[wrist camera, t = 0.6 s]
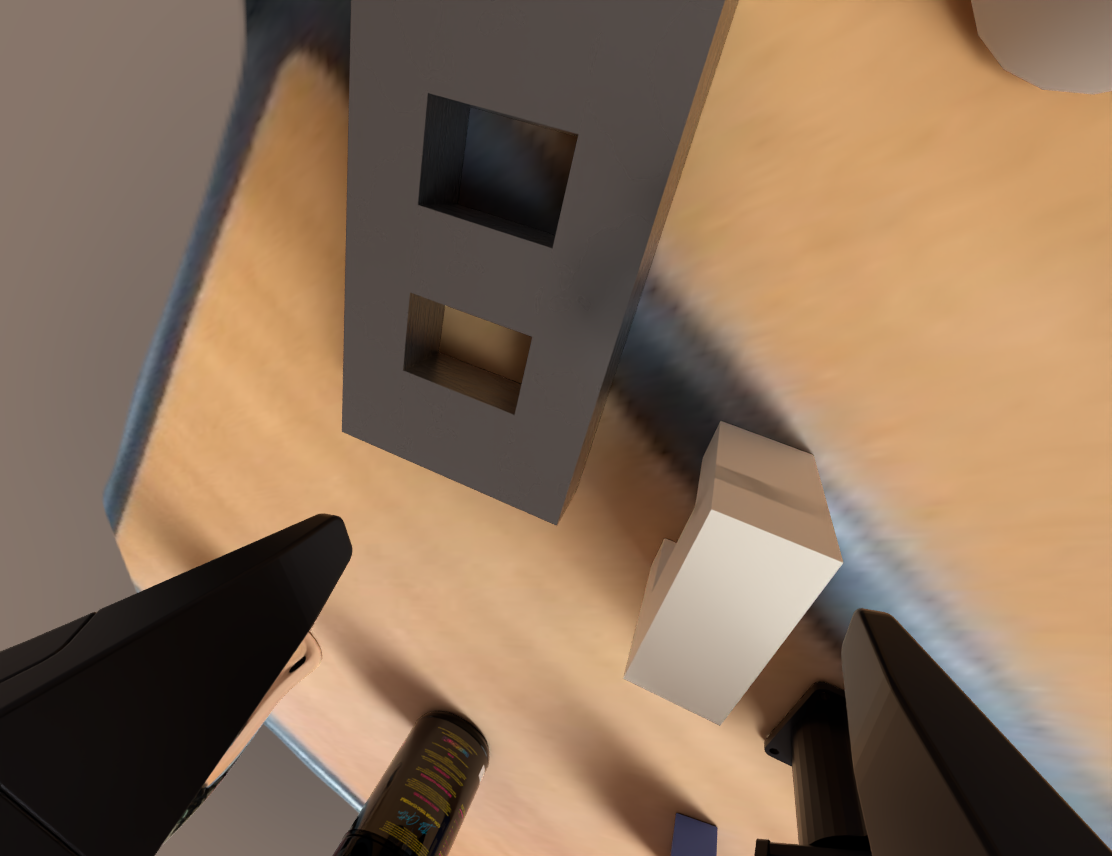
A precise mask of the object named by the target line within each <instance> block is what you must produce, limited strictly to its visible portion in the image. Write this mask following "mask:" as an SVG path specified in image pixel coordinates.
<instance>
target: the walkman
mask: <svg viewBox="0 0 1112 856" xmlns="http://www.w3.org/2000/svg"><path fill="white" fill-rule="evenodd" d="M716 852H717V827H715V826H712V825H710V824H707V823H704V822H701V821H698V820H695V819H692V818H690V817H687V816H684V815H681V814H678V813H676V818H675V826H674V834H673V840H672V849H671V856H716Z"/></svg>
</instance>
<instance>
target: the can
mask: <svg viewBox="0 0 1112 856" xmlns="http://www.w3.org/2000/svg"><path fill="white" fill-rule="evenodd" d="M971 3H972V8H973V13H974V18H975V22H976V27H977V32H978V36H979V37H980V38H981V40H982V41H983V42H984V44H985V45H986V46H987V48H988V49H989V50H990V52H991V53H992V54H993V56H994V57H995V59H996V60H997V61H998V63H999V64H1000V65H1001V67H1002V68H1003V69H1004V70H1006V71H1008V72H1010V73H1012V74H1014V75H1015V76H1017V77H1019V78H1021V79H1023V80H1025V81H1027V82H1029V83H1031V84H1033V85H1035V86H1037V87H1039V88H1041V89H1043V90H1052V91H1063V92H1074V93H1084V94H1098V93H1103V92H1108V91H1112V0H971Z"/></svg>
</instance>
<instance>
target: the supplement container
mask: <svg viewBox="0 0 1112 856" xmlns="http://www.w3.org/2000/svg"><path fill="white" fill-rule="evenodd" d="M488 765H489V750H488V746H487V743H486V741H485V739H484V738H483V736H482V735H481V734H480V733H479V731H478V730H477V729H476V728H475V727H473V726H472V725H471V724H470V723H468V722H467V721H465V720H464V719H462V718H460V717H458V716H456V715H454V714H451V713H448V712H444V711H432V712H429V713H426V714H424V715H423V716H422V717H420V718H419V719H418V720H417V722H416V723H415V725H414V726H413V728H412V730H411V731H410V733H409V734H408V736H407V738H406V739H405V741H404V742H403V744H402V746H401V747H400V749H399V750H398V752H397V754H396V755H395V757H394V758H393V760H392V762H391V763H390V765H389V766H388V768H387V770H386V771H385V773H384V774H383V776H382V778H381V779H380V781H379V783H378V784H377V786H376V787H375V789H374V791H373V792H372V794H371V795H370V797H369V799H368V800H367V802H366V803H365V805H364V807H363V808H362V810H361V811H360V813H359V815H358V816H357V818H356V819H355V821H354V823H353V824H352V826H351V827H350V829H349V831H348V832H347V833H346V834H345V835H344V837H343V839H342V841H341V843H340V844H339V846H338V848H337V849H336V851H335V852H334V854H333V855H332V856H448V854H449V852H450V850H451V848H452V845H453V843H454V841H455V839H456V837H457V834H458V832H459V830H460V828H461V825H462V823H463V821H464V819H465V816H466V814H467V812H468V810H469V808H470V805H471V803H472V801H473V799H474V796H475V794H476V792H477V790H478V787H479V785H480V783H481V781H482V779H483V776H484V774H485V772H486V770H487V767H488Z"/></svg>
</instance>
